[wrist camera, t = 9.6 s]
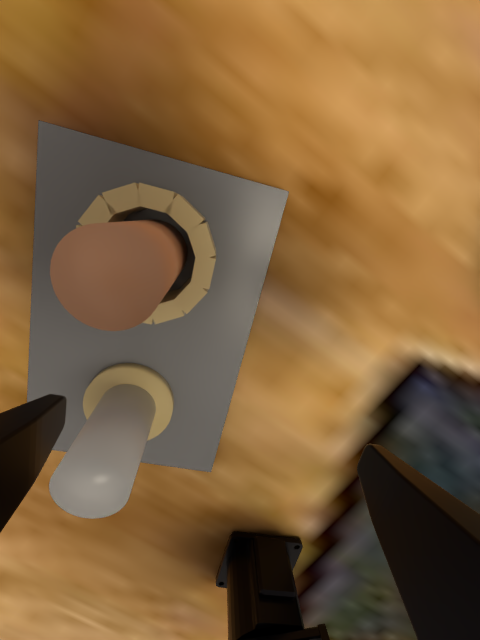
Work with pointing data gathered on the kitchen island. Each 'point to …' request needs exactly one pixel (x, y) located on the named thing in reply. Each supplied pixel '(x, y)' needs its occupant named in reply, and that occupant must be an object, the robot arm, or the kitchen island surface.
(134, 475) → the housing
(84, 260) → the brown peg
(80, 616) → the kitchen island surface
